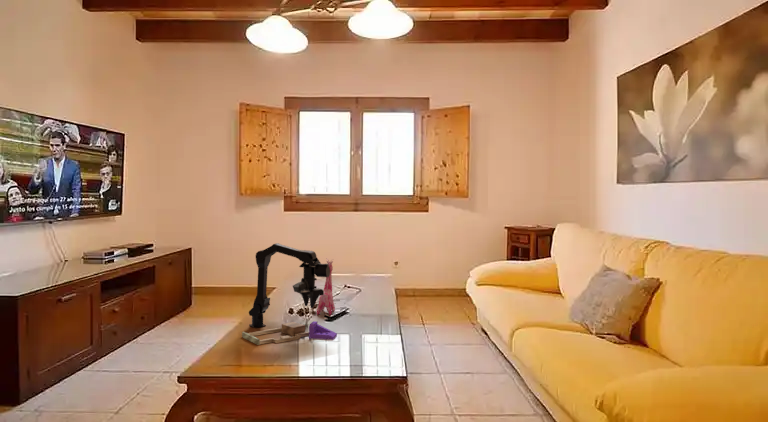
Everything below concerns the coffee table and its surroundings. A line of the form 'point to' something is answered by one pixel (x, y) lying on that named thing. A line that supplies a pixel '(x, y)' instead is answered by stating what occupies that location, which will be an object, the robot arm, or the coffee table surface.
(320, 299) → the toy
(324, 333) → the bracket
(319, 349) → the coffee table surface
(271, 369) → the coffee table surface
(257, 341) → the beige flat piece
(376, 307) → the coffee table surface
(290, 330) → the block
